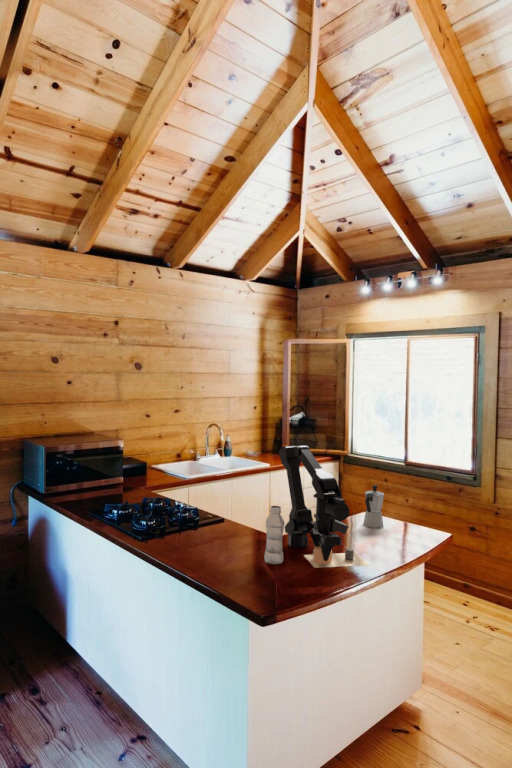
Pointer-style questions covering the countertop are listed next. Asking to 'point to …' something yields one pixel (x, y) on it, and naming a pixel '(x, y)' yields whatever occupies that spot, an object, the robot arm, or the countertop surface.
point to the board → (340, 560)
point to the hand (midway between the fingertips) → (322, 557)
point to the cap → (320, 556)
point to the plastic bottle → (274, 536)
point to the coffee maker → (373, 508)
